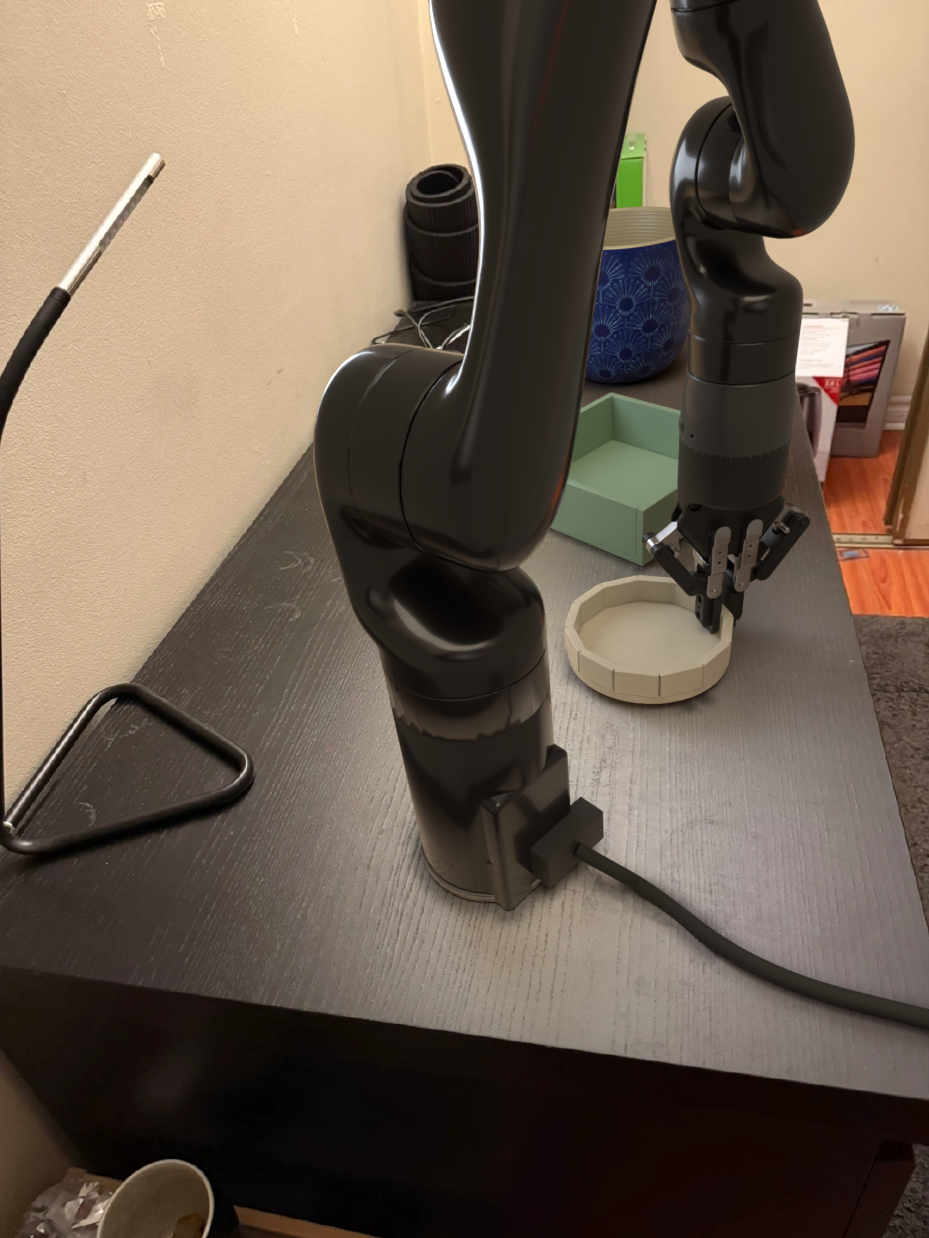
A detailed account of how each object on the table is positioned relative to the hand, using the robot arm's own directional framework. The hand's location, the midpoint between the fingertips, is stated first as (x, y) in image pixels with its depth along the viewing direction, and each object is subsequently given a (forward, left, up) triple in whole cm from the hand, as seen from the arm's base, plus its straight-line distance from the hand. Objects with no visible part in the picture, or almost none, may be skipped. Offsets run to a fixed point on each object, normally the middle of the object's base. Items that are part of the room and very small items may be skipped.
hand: (717, 624), depth 69 cm
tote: (+21, -15, -2) cm, 26 cm away
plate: (+3, +5, -1) cm, 6 cm away
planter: (+44, -43, -2) cm, 62 cm away
